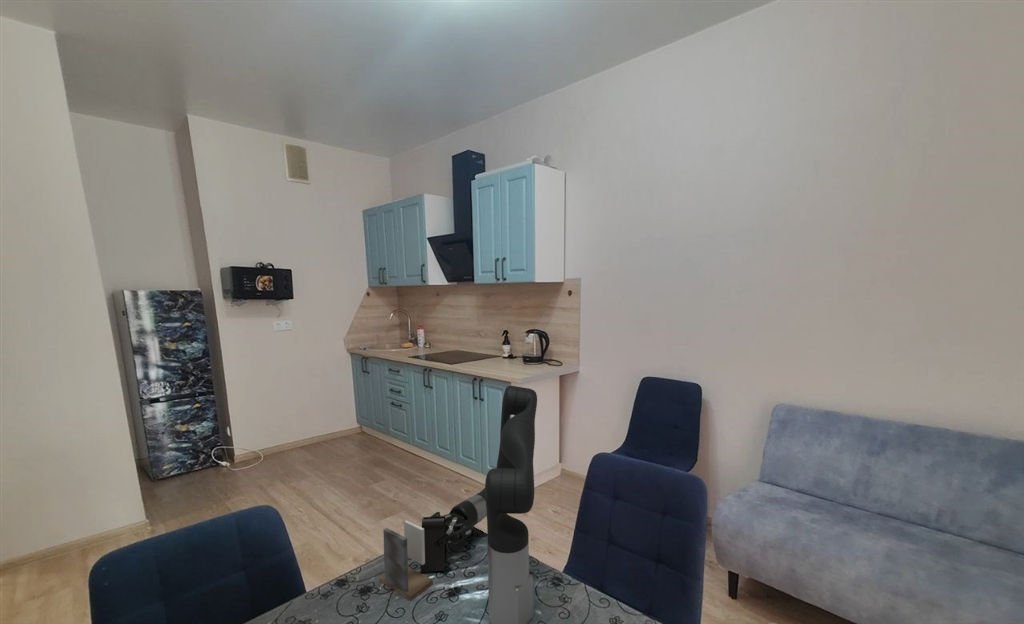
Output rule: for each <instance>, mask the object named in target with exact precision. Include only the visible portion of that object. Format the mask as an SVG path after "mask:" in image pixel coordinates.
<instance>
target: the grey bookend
mask: <svg viewBox="0 0 1024 624" xmlns="http://www.w3.org/2000/svg"><path fill="white" fill-rule="evenodd" d="M382 533H383V563H384V564H383V565H384V566H383V567H384V569H383V570H384V574H383V575H381V576H380V577H379V581H380V582H381V583H383V584H384V585H385V586H387V587H389V588H390V589H392V590H394V591H395V592H396V593H397V594H399V595H400V596H401V597H404V598H405V599H407V600H408V601H409V602H411V601H412V600H414V599H415V598H417V597H418V596H419V595H421V594H422V593H423V592H424V591H426V590H428V588H430V587H431V586H432V585H433V584H434V580H433V579H431V578H429V577H428V576H427V575H424V574H423V573H421V572H419V571H417V570H416V569H414V568H412V567H411V566H409V563H408V561H409V560H408V558H409V557H408V555H407V538H405V537H404V536H403V535H401V534H400V533H398V532H396V531H394V530H392V529H390V528H388V527H385V528H384V529H383V532H382Z"/></svg>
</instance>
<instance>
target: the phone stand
mask: <svg viewBox="0 0 1024 624" xmlns="http://www.w3.org/2000/svg"><path fill="white" fill-rule="evenodd" d="M421 527H422V528H424V540H425V564H423V565H422V564H420V573H421V572H423V573H424V572H425V573H426V572H444V570H445V566H446V562H447V556H448V552H449V547H448V542H447V543H445V544H444V545H442V546H441V547H439V548H435V546H434V541H435V539H436V538H438V537H440V536H441V535H444V533H445V534H446V533H447V532H446V525H445V516H444V515H442V516H439V517H431V516H423V517H422V519H421Z"/></svg>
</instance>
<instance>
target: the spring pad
mask: <svg viewBox="0 0 1024 624" xmlns="http://www.w3.org/2000/svg"><path fill="white" fill-rule="evenodd" d="M403 530H404V531H403V533H404V534H403V535H404V537H405V538H407V555H408V558H409V559H411V560H412V561H414V562H417V563H419V564H420V565H421V564H422V565H423V564H425V540H424V528H422V526H420V525H418V524H415V523H414V522H412V521H410V520H407V519H405V521H404V522H403Z"/></svg>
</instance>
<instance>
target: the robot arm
mask: <svg viewBox="0 0 1024 624" xmlns="http://www.w3.org/2000/svg"><path fill="white" fill-rule="evenodd" d="M501 403H502V404H501V413H500V414H501V415H500V430H499V431H500V433H499V434H500V435H499V438H500V439H499V449H498V455H497V456H498V457H497V461H496V468H491V469H489V470H488V472H487V473H486V475H485V483H484V488H483V489H482V490H480V491H479V492H478V493H476V494H474V495H473V496H469V497H468V498H466V499H464V500H463V501H461V502H459V503H458V504H456V505H455V506H453V507H452V509H451V510H450V511H449V513H447V514H444V515H442V514H441V511H436V512H435V513H433V514H432V515H430V517H439V516H445V525H446V534H445V533H444V535H441V536H440V537H438V538H436V539H435V541H434V546H435V548H439V547H441V546H442V545H444V544H445V543H447V544H448V543H449V544H450V543H451V542H452V543H453V545H454V544H458V543H460V542H461V541H463V540H465V539H467V538H468V537H470V536H471V535H472V528H473V527H475V526H476V525H478V523H480V522H482V521H483V520H484V519H485V518H486V526H487V527H486V528H487V530H486V531H487V572H488V573H487V575H488V576H487V580H488V581H487V583H488V584H487V585H488V586H487V587H488V619H489V622H490V624H528V623H529V622H530V621H531V620H532V619H533V618H534V615H535V613H534V611H535V609H534V575H533V574H531V573H530V554H529V553H530V550H529V549H530V547H529V544H530V543H529V529H528V527H527V525H526V524H525V523H524V522H523V521H522V520H520V519H518V518H515V517H513V516H512V515H509V514H514V515H516V514H517V515H521V514H522V515H523V514H527V513H529V512H530V511H531V510H532V509H533V505H534V503H535V502H534V500H535V471H534V455H535V454H534V452H535V443H536V415H537V414H536V413H537V406H538V394H537V392H536V391H535V390H534V389H532V388H530V387H529V388H528V387H522V386H516V385H507V386H506V388H505V389H504V393H503V397H502V402H501Z"/></svg>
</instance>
